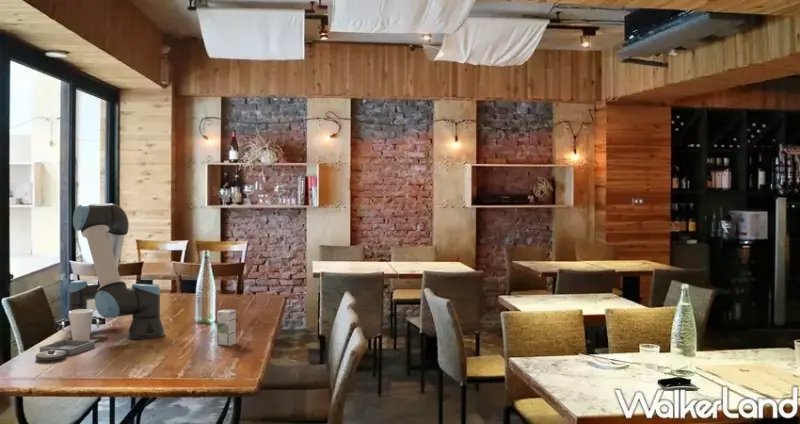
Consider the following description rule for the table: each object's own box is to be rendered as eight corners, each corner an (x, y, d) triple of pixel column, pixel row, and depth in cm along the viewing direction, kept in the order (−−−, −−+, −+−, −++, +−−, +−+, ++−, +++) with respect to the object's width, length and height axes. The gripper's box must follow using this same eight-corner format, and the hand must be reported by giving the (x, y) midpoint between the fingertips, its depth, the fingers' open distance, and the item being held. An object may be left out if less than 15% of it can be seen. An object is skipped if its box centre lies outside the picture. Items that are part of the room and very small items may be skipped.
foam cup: (83, 344, 296) (83, 313, 295) (64, 343, 297) (63, 312, 297) (97, 339, 305) (97, 309, 304) (78, 338, 307) (78, 308, 306)
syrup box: (236, 343, 298) (236, 309, 298) (228, 346, 293) (228, 311, 292) (224, 342, 300) (224, 308, 300) (216, 345, 295) (216, 311, 294)
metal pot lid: (72, 357, 274) (72, 347, 273) (53, 363, 263) (53, 354, 263) (49, 355, 276) (49, 346, 276) (29, 361, 266) (29, 352, 266)
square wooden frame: (107, 338, 307) (107, 336, 307) (84, 346, 292) (84, 344, 292) (77, 336, 310) (77, 335, 310) (53, 344, 296) (53, 342, 296)
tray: (94, 347, 289) (94, 341, 289) (70, 355, 276) (70, 349, 276) (64, 345, 293) (64, 339, 293) (39, 353, 279) (39, 347, 279)
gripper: (109, 323, 323) (112, 332, 304) (48, 328, 312) (48, 337, 293) (108, 307, 323) (112, 315, 304) (48, 311, 312) (48, 319, 293)
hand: (81, 326), depth 299 cm, fingers open, 13 cm apart
